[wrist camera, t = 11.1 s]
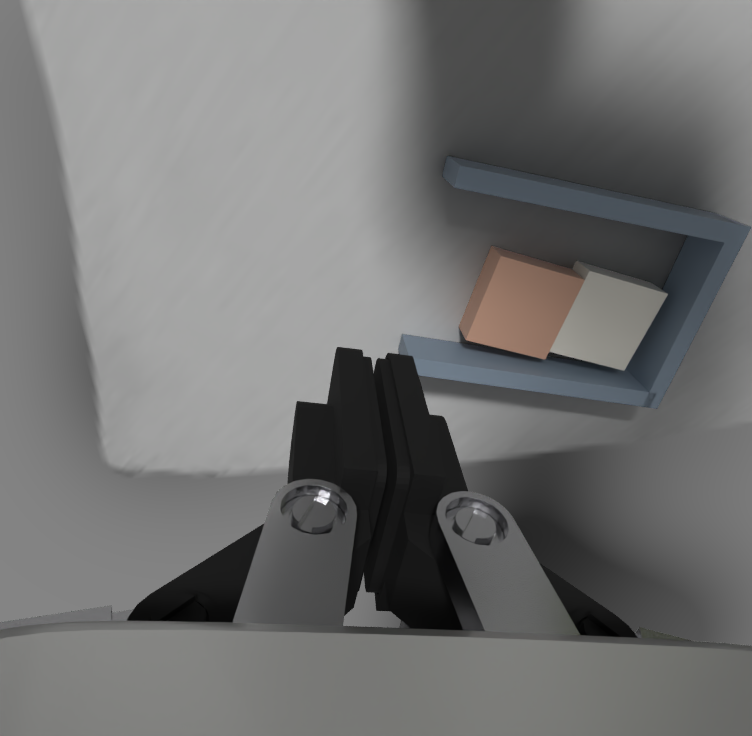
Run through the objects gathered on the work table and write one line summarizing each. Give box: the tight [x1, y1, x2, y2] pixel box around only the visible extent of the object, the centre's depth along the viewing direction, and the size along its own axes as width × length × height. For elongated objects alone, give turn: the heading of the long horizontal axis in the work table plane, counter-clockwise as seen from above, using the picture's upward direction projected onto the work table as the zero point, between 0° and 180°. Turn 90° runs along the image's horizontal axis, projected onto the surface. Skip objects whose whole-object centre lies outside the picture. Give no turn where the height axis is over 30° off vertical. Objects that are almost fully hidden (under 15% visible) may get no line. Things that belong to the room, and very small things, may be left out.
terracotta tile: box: [459, 246, 585, 360], centre depth 38 cm, size 6×6×2 cm
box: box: [398, 156, 751, 409], centre depth 37 cm, size 13×19×4 cm
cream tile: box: [549, 260, 668, 371], centre depth 39 cm, size 6×6×2 cm
